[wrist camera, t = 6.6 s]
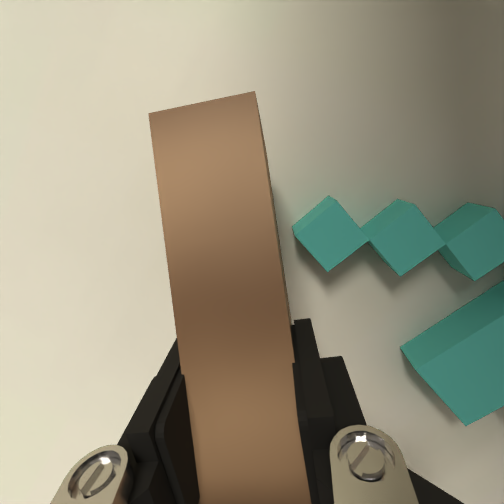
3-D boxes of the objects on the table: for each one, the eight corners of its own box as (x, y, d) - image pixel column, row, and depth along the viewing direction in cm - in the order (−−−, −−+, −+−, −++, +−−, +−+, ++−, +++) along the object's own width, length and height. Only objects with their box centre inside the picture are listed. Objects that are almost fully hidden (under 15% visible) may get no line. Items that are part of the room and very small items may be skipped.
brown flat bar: (193, 161, 12) (148, 113, 8) (265, 148, 12) (255, 90, 8) (248, 569, 11) (227, 732, 7) (327, 567, 11) (350, 737, 7)
